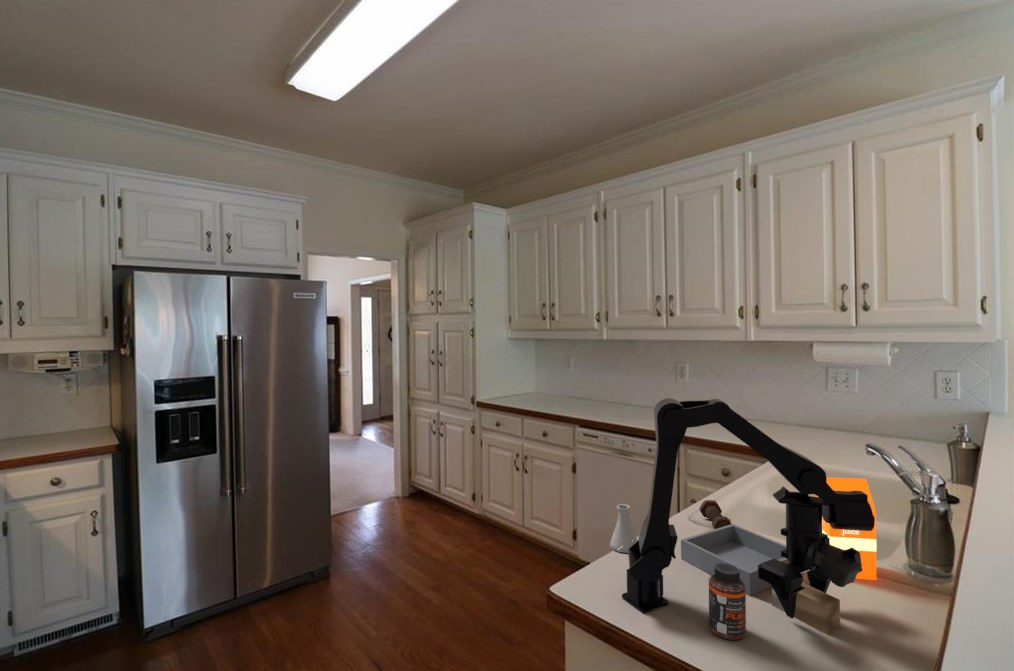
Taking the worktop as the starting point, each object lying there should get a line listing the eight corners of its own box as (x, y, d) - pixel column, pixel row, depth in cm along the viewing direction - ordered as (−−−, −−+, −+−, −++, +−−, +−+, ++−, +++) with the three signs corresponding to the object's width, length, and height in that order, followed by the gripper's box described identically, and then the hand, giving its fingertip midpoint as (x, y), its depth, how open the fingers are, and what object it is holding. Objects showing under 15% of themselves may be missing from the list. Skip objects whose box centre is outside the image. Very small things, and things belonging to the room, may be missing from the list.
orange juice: (814, 559, 111) (813, 472, 110) (858, 562, 109) (857, 473, 108) (830, 577, 103) (829, 483, 103) (877, 580, 101) (876, 484, 101)
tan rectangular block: (826, 634, 84) (826, 606, 84) (772, 605, 93) (772, 579, 93) (840, 627, 86) (839, 599, 86) (785, 599, 95) (785, 574, 95)
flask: (616, 538, 124) (615, 499, 124) (643, 545, 120) (643, 504, 120) (604, 549, 118) (603, 508, 118) (633, 556, 114) (632, 514, 114)
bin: (749, 595, 97) (749, 573, 96) (681, 558, 112) (680, 539, 112) (804, 573, 105) (803, 552, 104) (732, 541, 120) (732, 523, 120)
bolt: (725, 548, 121) (706, 522, 136) (743, 539, 121) (723, 513, 135) (713, 528, 121) (696, 504, 136) (731, 519, 121) (712, 495, 135)
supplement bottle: (728, 646, 82) (727, 579, 82) (701, 626, 87) (700, 563, 87) (754, 636, 84) (753, 571, 84) (726, 617, 90) (725, 556, 90)
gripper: (818, 556, 78) (819, 652, 78) (881, 531, 86) (881, 618, 87) (755, 531, 88) (756, 616, 88) (817, 511, 96) (817, 589, 97)
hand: (804, 610), depth 90 cm, fingers open, 8 cm apart
